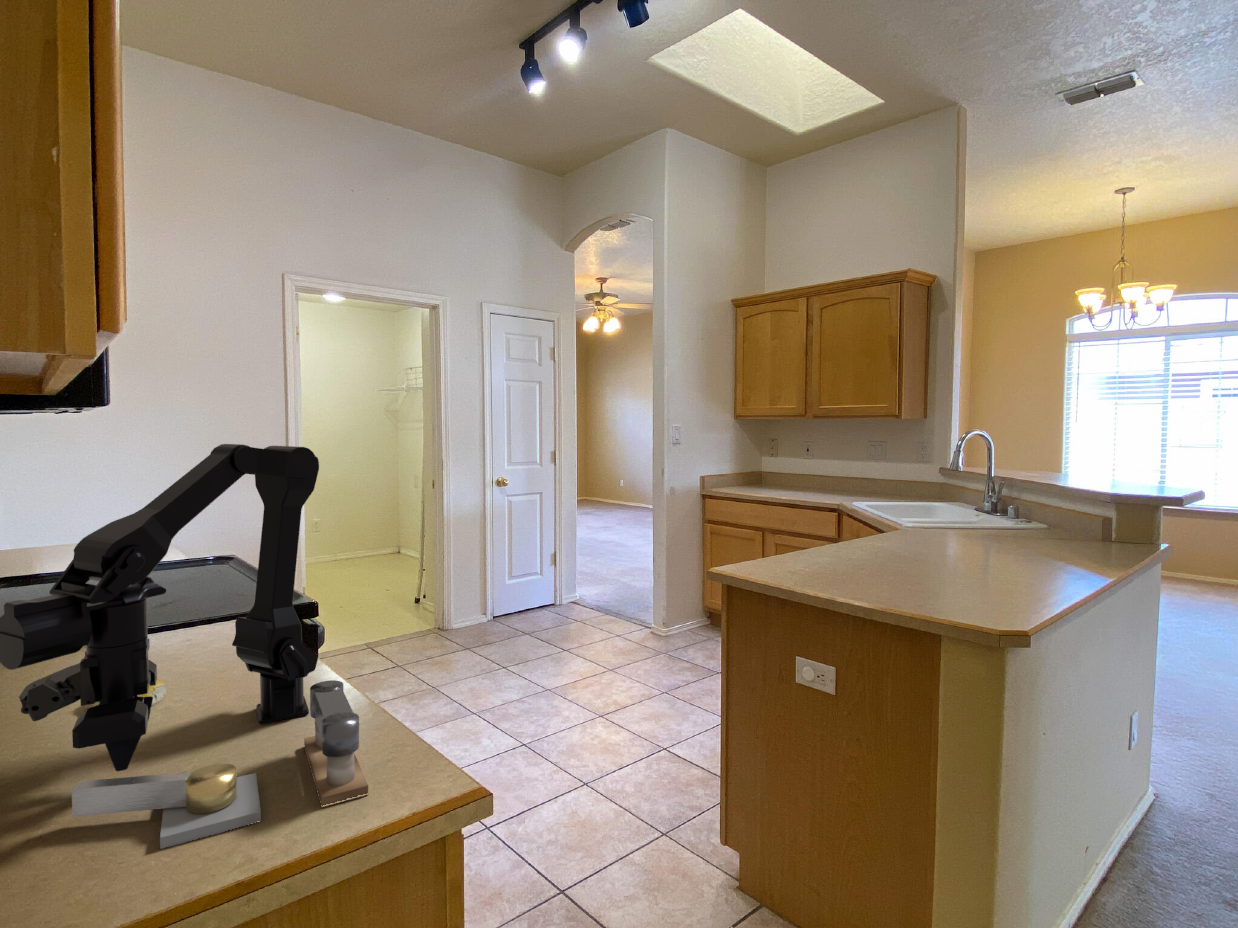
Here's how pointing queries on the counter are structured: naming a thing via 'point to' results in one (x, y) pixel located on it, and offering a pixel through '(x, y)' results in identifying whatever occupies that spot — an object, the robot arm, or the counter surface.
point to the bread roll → (152, 692)
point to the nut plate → (212, 816)
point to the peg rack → (334, 772)
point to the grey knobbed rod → (334, 719)
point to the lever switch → (158, 792)
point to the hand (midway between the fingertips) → (121, 769)
